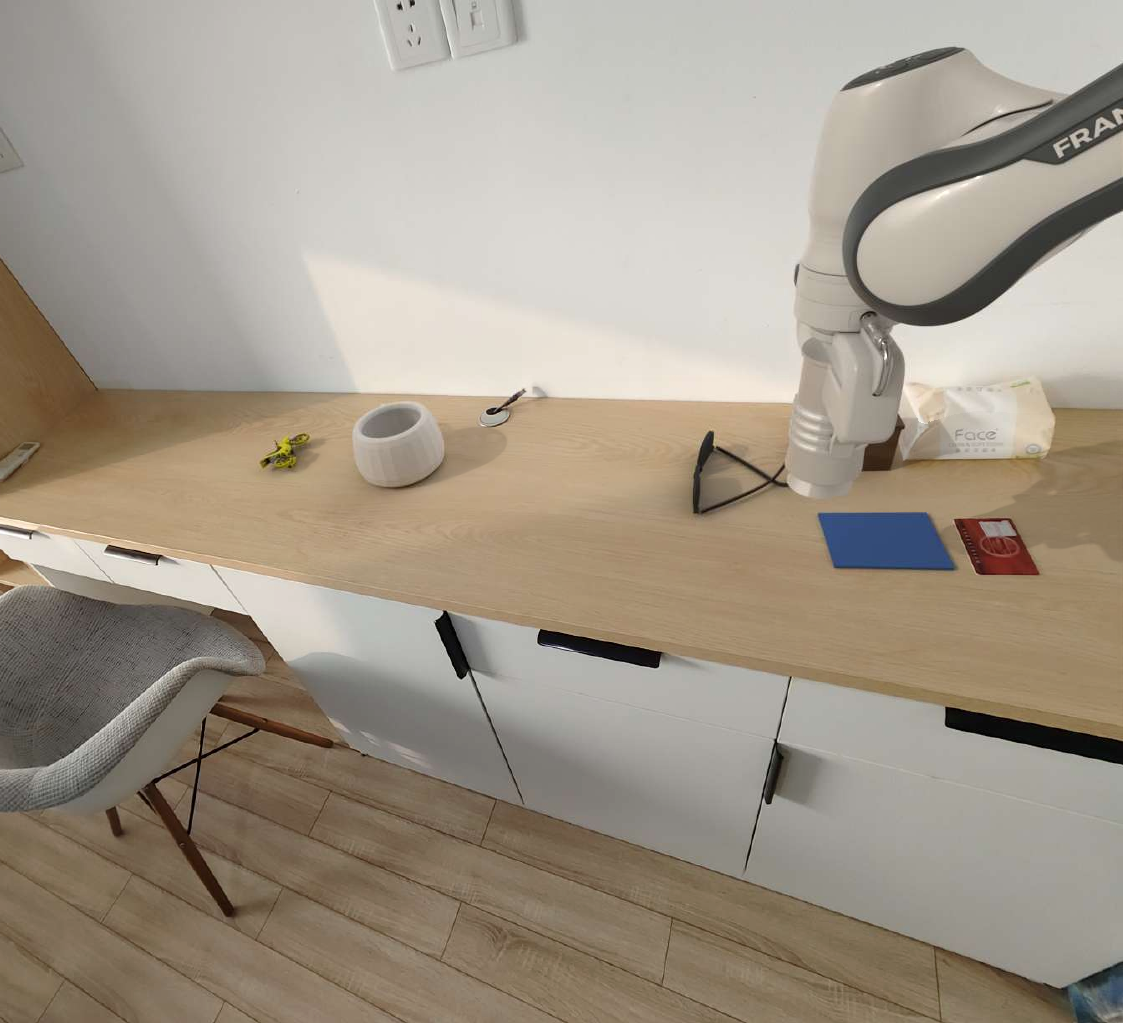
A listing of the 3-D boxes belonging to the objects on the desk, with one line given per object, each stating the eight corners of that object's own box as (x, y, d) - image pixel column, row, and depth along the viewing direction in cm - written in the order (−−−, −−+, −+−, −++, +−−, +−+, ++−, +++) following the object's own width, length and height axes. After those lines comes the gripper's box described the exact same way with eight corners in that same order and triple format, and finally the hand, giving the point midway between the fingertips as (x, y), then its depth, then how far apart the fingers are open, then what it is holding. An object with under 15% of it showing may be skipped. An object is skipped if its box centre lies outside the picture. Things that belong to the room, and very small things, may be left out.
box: (874, 434, 91) (885, 390, 87) (892, 471, 85) (905, 425, 80) (803, 437, 94) (810, 394, 90) (815, 473, 88) (823, 429, 83)
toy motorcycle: (284, 459, 118) (253, 461, 120) (291, 474, 120) (261, 476, 122) (308, 425, 126) (279, 428, 129) (315, 441, 129) (287, 443, 131)
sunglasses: (799, 528, 80) (805, 498, 77) (684, 514, 87) (684, 487, 84) (804, 455, 91) (809, 427, 88) (701, 448, 98) (702, 422, 95)
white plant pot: (458, 473, 108) (446, 425, 101) (368, 504, 106) (351, 457, 100) (430, 421, 125) (418, 377, 118) (352, 446, 123) (336, 403, 117)
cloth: (925, 514, 77) (926, 512, 77) (954, 570, 70) (955, 567, 70) (817, 514, 81) (818, 512, 81) (834, 567, 74) (834, 565, 74)
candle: (808, 454, 67) (831, 324, 58) (874, 479, 61) (910, 341, 52) (766, 482, 65) (783, 352, 56) (829, 511, 60) (859, 373, 50)
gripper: (946, 341, 42) (899, 495, 51) (867, 246, 57) (841, 378, 66) (841, 350, 44) (813, 497, 53) (791, 256, 59) (775, 383, 68)
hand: (828, 430), depth 59 cm, fingers closed on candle, 7 cm apart
